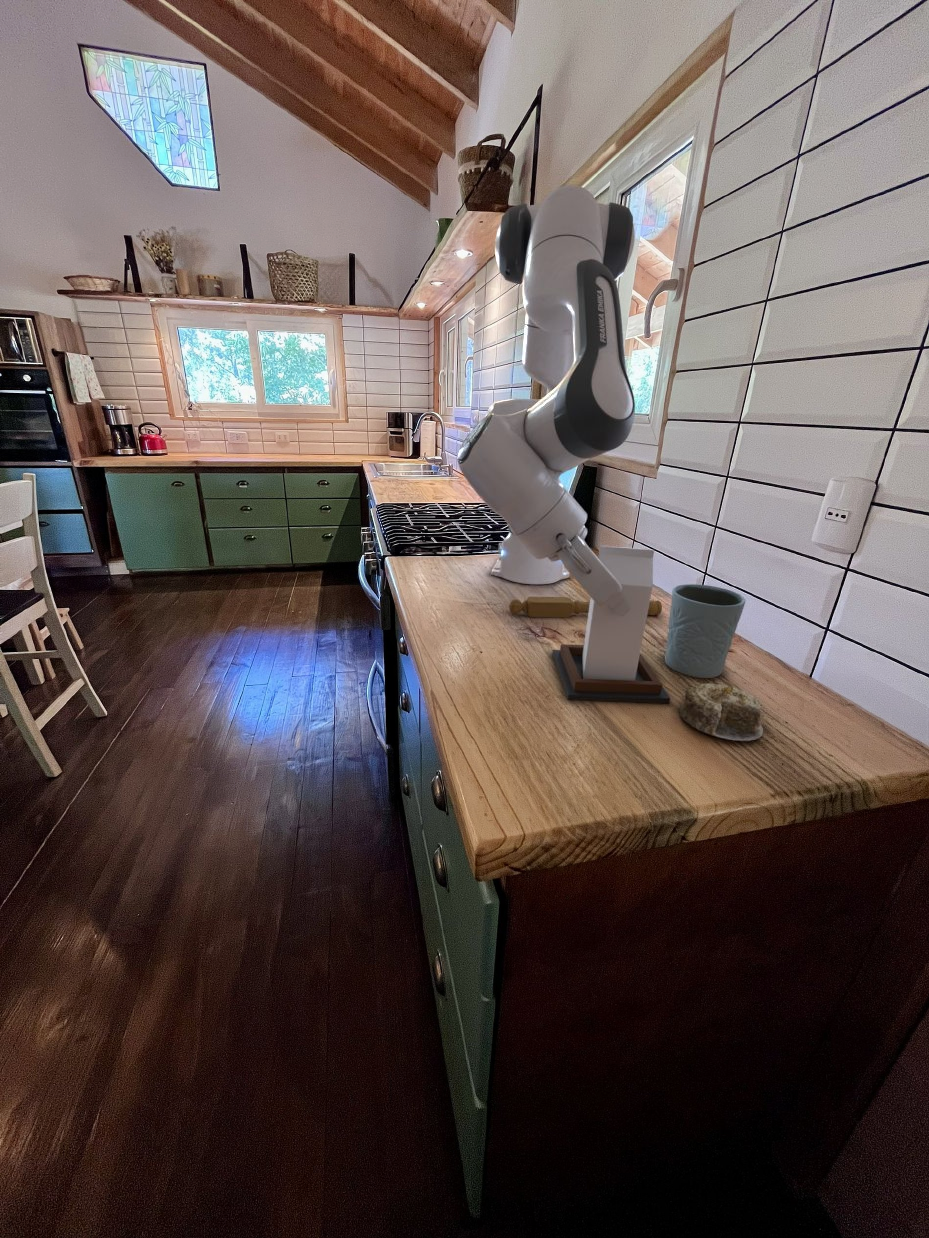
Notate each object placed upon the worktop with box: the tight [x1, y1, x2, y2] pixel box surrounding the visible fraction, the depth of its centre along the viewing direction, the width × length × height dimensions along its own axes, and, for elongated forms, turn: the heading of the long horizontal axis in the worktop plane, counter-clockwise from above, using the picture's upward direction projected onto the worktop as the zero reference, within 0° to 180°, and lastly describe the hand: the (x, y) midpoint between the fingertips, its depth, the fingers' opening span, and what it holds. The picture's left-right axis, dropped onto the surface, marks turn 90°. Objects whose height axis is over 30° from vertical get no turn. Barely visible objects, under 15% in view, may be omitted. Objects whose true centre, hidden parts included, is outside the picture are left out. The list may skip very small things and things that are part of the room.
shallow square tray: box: [552, 643, 671, 704], centre depth 74 cm, size 14×14×2 cm
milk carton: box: [582, 545, 655, 681], centre depth 71 cm, size 7×7×19 cm
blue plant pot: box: [664, 583, 746, 679], centre depth 77 cm, size 10×10×12 cm
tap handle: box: [508, 596, 663, 618], centre depth 97 cm, size 3×3×30 cm
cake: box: [678, 683, 764, 742], centre depth 64 cm, size 10×10×5 cm
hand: (615, 598), depth 70 cm, fingers open, 8 cm apart
